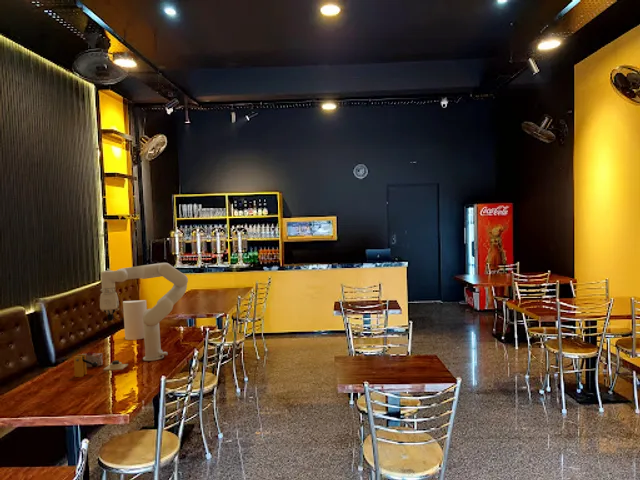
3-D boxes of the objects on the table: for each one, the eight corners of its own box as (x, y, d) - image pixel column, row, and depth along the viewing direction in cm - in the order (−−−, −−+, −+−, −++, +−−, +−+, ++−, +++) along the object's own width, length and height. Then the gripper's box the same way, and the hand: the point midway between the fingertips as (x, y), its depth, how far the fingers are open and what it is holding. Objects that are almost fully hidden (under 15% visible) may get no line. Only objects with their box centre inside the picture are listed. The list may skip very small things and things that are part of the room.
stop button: (119, 363, 296) (119, 360, 296) (117, 364, 292) (117, 361, 292) (113, 363, 296) (113, 360, 296) (111, 365, 292) (111, 362, 292)
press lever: (97, 367, 283) (99, 362, 283) (95, 369, 280) (97, 364, 280) (77, 359, 283) (79, 354, 283) (75, 361, 280) (77, 355, 280)
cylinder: (144, 339, 373) (142, 302, 372) (121, 340, 373) (118, 303, 372) (152, 333, 390) (150, 298, 389) (130, 334, 390) (128, 299, 389)
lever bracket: (93, 375, 286) (91, 353, 285) (86, 379, 278) (85, 357, 277) (75, 376, 286) (73, 354, 285) (68, 380, 278) (67, 357, 277)
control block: (128, 367, 299) (127, 360, 298) (122, 372, 290) (122, 365, 289) (109, 368, 298) (109, 361, 298) (103, 373, 289) (103, 366, 289)
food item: (105, 365, 306) (104, 349, 306) (100, 369, 298) (99, 352, 298) (82, 366, 305) (81, 350, 305) (76, 370, 297) (75, 354, 297)
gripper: (93, 292, 302) (95, 322, 303) (118, 291, 302) (120, 321, 303) (99, 290, 310) (101, 319, 310) (123, 289, 310) (125, 318, 311)
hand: (110, 320), depth 307 cm, fingers closed
